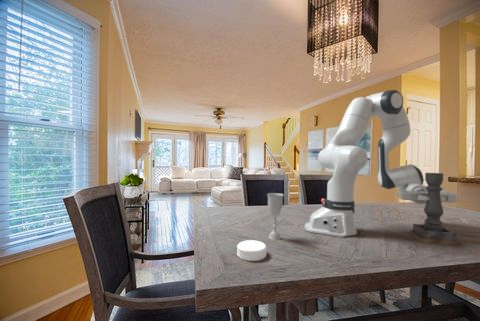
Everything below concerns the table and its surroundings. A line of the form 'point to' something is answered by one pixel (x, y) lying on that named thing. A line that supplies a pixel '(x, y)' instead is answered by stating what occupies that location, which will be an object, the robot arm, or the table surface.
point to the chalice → (274, 211)
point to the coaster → (251, 250)
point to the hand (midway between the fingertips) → (434, 199)
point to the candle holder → (433, 202)
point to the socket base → (434, 236)
